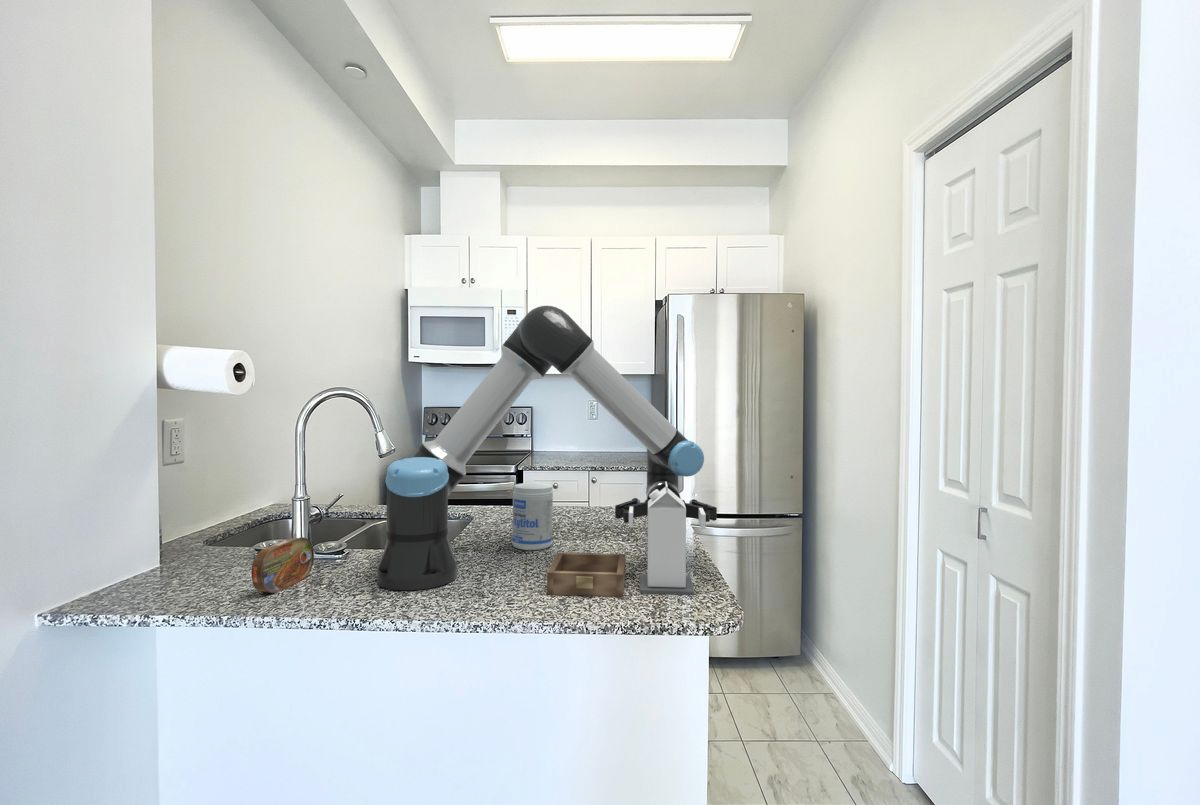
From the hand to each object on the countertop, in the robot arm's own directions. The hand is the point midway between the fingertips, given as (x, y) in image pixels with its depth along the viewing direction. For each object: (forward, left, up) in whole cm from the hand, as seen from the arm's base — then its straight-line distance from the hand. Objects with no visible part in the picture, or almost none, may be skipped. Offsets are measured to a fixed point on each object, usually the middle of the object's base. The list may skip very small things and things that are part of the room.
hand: (666, 521), depth 114 cm
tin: (-73, -3, -13) cm, 74 cm away
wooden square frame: (-15, +3, -13) cm, 20 cm away
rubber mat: (0, +3, -13) cm, 13 cm away
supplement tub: (-31, +30, -13) cm, 45 cm away
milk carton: (0, +3, -13) cm, 13 cm away
